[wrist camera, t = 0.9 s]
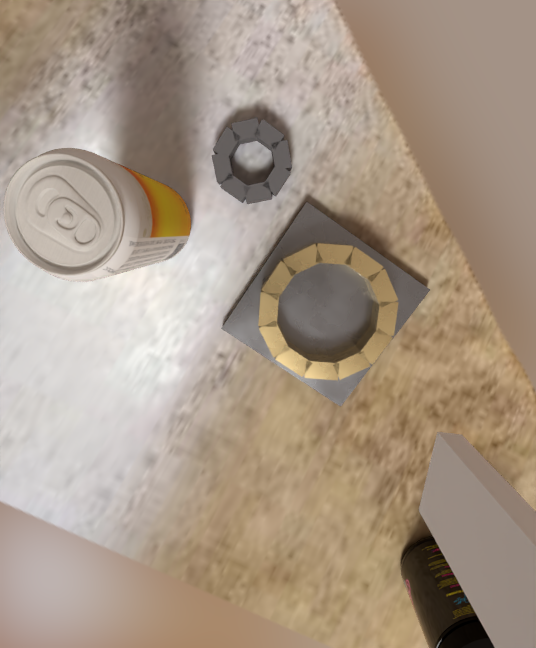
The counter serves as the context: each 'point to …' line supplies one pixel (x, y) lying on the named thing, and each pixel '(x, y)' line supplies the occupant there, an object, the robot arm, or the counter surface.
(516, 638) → the robot arm
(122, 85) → the counter surface
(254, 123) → the ring
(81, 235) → the beer can
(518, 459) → the counter surface
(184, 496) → the counter surface
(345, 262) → the collar block
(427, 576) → the supplement container
